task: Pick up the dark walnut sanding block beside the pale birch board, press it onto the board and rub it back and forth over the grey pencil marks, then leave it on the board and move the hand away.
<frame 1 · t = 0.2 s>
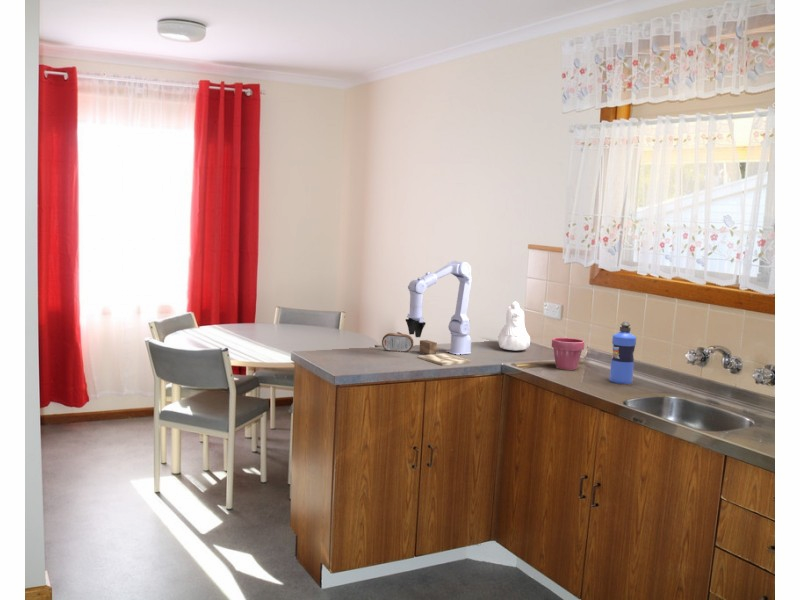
hand: (414, 335, 328), 10 cm above the worktop, tool pointing down, fingers open, 7 cm apart
board: (444, 360, 325), on the worktop
sanding block: (427, 354, 338), on the worktop
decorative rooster: (513, 349, 361), on the worktop
tin: (397, 351, 341), on the worktop
water bottle: (620, 381, 297), on the worktop
plant pot: (566, 368, 320), on the worktop
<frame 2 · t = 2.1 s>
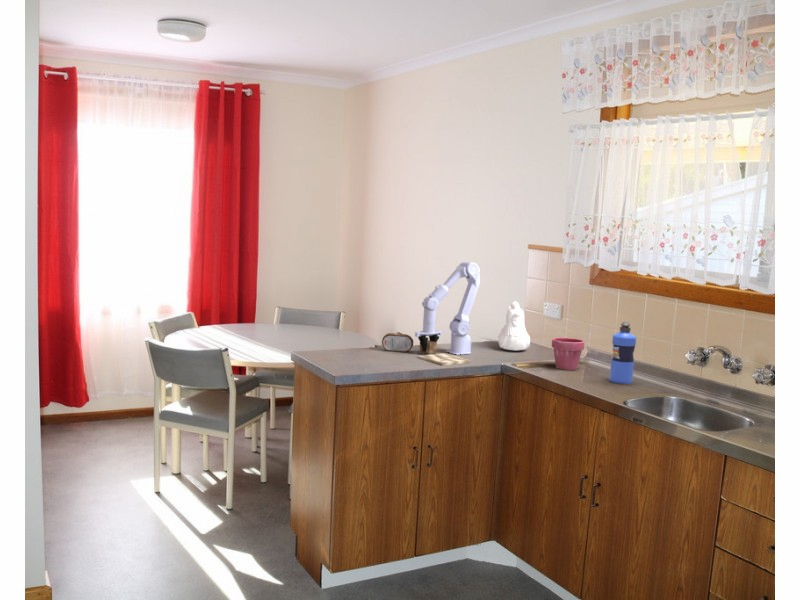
hand: (427, 350, 338), 1 cm above the worktop, tool pointing down, fingers closed on sanding block, 4 cm apart
sanding block: (427, 353, 338), on the worktop, touching gripper
everything else where it was.
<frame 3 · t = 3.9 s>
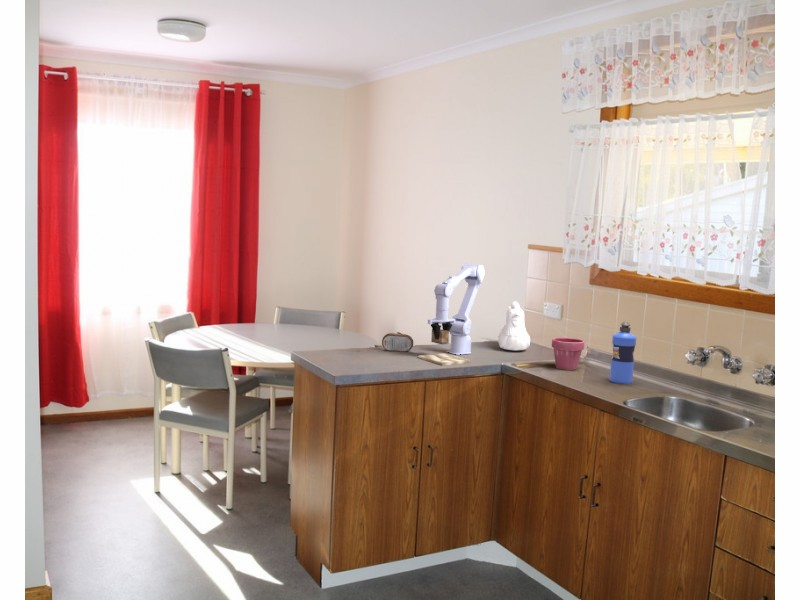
hand: (440, 338, 331), 8 cm above the worktop, tool pointing down, fingers closed on sanding block, 4 cm apart
sanding block: (439, 342, 332), point 6 cm above the worktop, touching gripper
everything else where it was.
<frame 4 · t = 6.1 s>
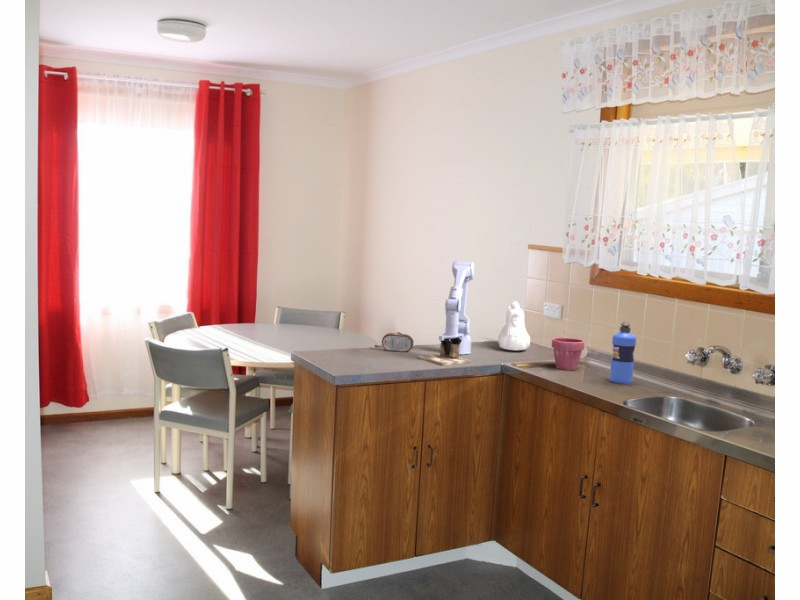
hand: (450, 354, 326), 2 cm above the worktop, tool pointing down, fingers closed on sanding block, 4 cm apart
sanding block: (449, 357, 327), point 1 cm above the worktop, touching gripper
everything else where it was.
when the fingers open (2 cm above the worktop, at t = 11.1 s): sanding block stays where it is, resting on board.
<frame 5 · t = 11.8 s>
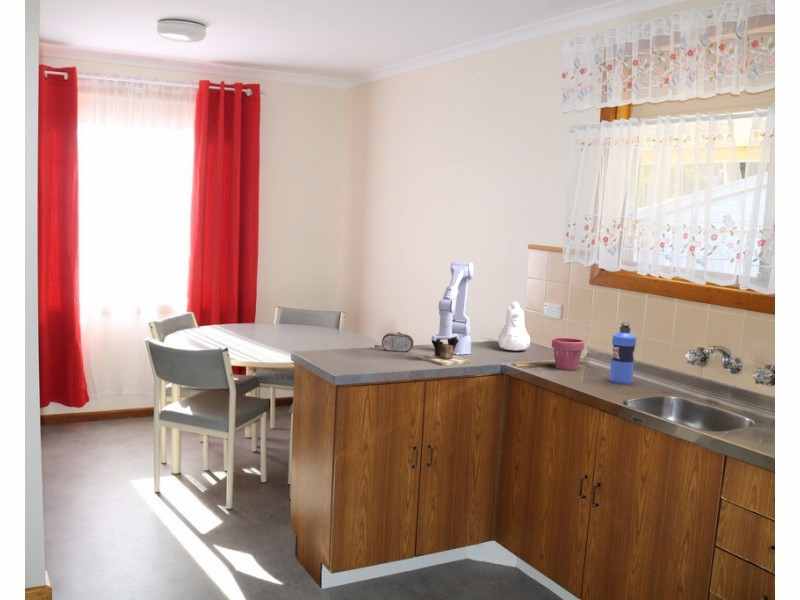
hand: (444, 355, 324), 2 cm above the worktop, tool pointing down, fingers open, 7 cm apart
sanding block: (443, 357, 325), point 1 cm above the worktop, touching board
everything else where it was.
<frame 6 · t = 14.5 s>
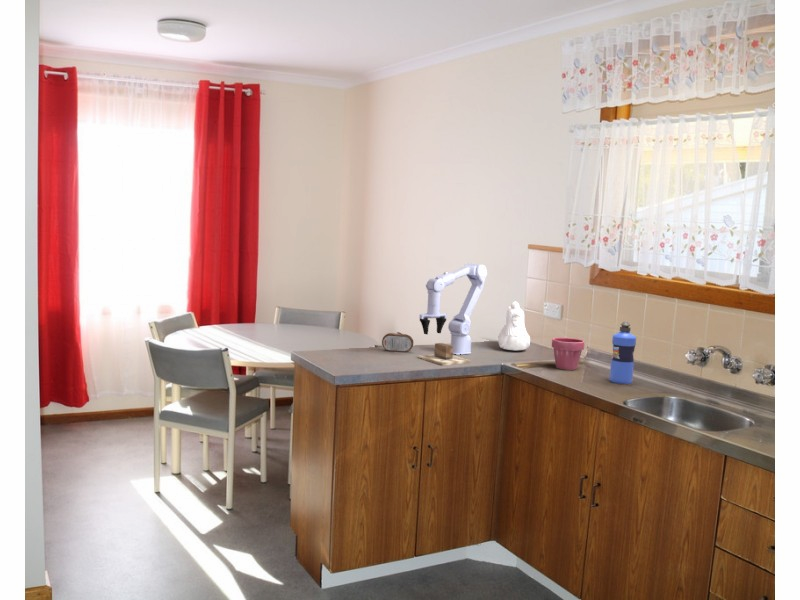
hand: (432, 333, 333), 10 cm above the worktop, tool pointing down, fingers open, 7 cm apart
nothing on the worktop moved.
at the end: sanding block inside the target area on the board (0.6 cm from its centre), point 1.0 cm above the board's base; sanding block tilted 0°; sanding block moved 14.6 cm from its start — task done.
